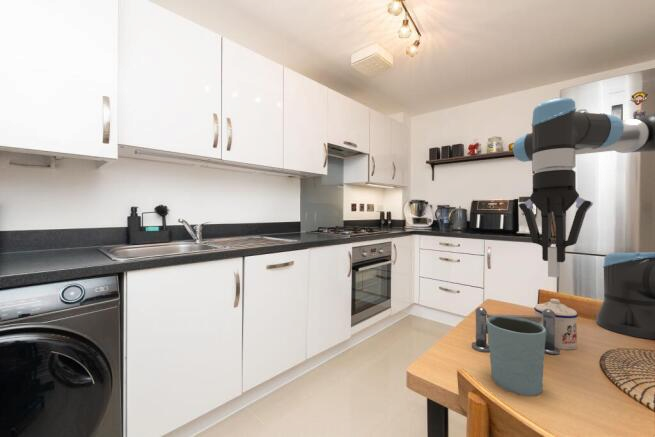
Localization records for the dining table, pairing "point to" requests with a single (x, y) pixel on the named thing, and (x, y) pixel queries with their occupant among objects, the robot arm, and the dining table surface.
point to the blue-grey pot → (517, 354)
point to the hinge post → (550, 332)
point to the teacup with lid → (561, 323)
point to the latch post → (481, 331)
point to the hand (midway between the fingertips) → (553, 276)
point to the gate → (529, 317)
